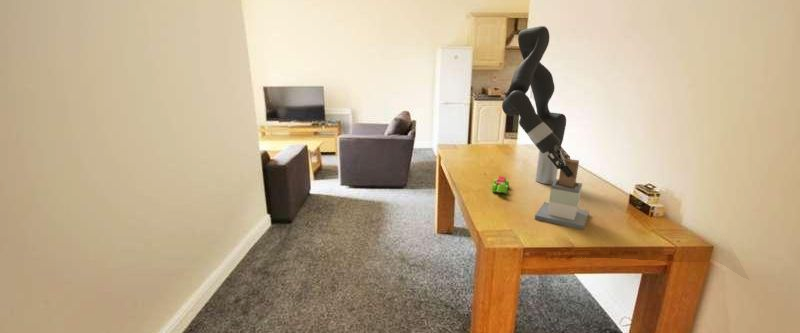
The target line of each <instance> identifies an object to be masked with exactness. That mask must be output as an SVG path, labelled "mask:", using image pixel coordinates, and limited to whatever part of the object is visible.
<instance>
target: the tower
mask: <svg viewBox="0 0 800 333" xmlns="http://www.w3.org/2000/svg"><path fill="white" fill-rule="evenodd" d="M558 183H559V178H558V179H557V178H556V180H555V181H554V182H553V184H550V185H551V186H550V193H549V200H548V202H546V201H544V202H543V203H542V205H541V206H540V208H539V209H538V211H537V212H536V213H535V215H534V220H537V221H541V222H546V223H551V224H555V225H560V226H564V227H568V228H573V229H577V230H582V231H584V229H585V226H586V222H587V219H588V217H589V213H590V211H589V210H586V209H580V208H579V206H580V199H581V193H582V187H583V183H581V182H576V183H575V188H569V187H563V186H558Z"/></svg>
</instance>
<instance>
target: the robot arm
mask: <svg viewBox="0 0 800 333" xmlns="http://www.w3.org/2000/svg"><path fill="white" fill-rule="evenodd" d="M517 42H518V48H519V52H520V54H521V56H522V59H523V61H522V62H521V63H520V64H518V66H517V68H516V69H515V70H514V72H513V76H512V79H511V83H510V86H509V88H508V90H507V92H506V93H505V96H504V98H503V100H502V105H501V109H502V111H503V113H504V114H505V115H507V116H509V117H513V116H516V115H517V114H518V115H519V121H518V124H519V126H520V127H521V128H522V130H523V131H524V132H525V134H527V137H528V138H529V139H530V140H531V142H532V143H533V144H534V146H536V147H537V149H538V150H539V151H538V159H537V165H536V174H535V182H537V183H540V184H545V185H552V184H553V182H554V181H555V180H556V179H557V177H558V170H562V171H563V172H564V174H565V175H566V176H567V177H571V176H572V175H573V172H572V171H571V170H570V169H569V167H568V166H567V165H566V163H565V159H571V156H570V155H569V154H568V153H567V152H566V151H565V149H564V148H563V147H562V144H563V141H564V135H565V132H566V131H565V130H566V126H567V117H566V115H565V114H564V113H558V112H552V111H550V109H549V102H550V100H551V99H552V97H553V94H554V92H555V83H554V82H555V81H554V78H553V75H552V73H551V71H550V70H549V69H548V68H547V67H546V66H545V65H543V63H541V60H542V59H543V57H544V54H545V52H546V50H547V48H548V46H549V43H550V32H549V29H548V27H546V26H545V25H540V26H535V27H531V28H530V27H529V28H525V29H522V30H520V31H519V33H518V36H517ZM530 88H531V89H530ZM529 89H530V90H531V92H532V95H533V98H534V103H535V108H536V110H535V108H534V106H533V104H532V102H531V100H530V98H529V97H528V95H527V93H528V91H529Z"/></svg>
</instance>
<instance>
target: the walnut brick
mask: <svg viewBox="0 0 800 333" xmlns="http://www.w3.org/2000/svg"><path fill="white" fill-rule="evenodd" d="M565 163H566V165H567V166H568V167H569V169H570V170H571V171H572V172H573V175H572V176H571V177H567V176H566V175H565V174H564V172H563V171H562V170H560V169H559V170H560V171H559V177H558V180H559V183H558V186H563V187H569V188H575V183H577V177H578V176H577V175H578V171H579V169H578V168H579V163H580V160H578V159H572V158H570V159H565Z"/></svg>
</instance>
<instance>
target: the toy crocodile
mask: <svg viewBox="0 0 800 333" xmlns="http://www.w3.org/2000/svg"><path fill="white" fill-rule="evenodd" d="M509 182H510V181H509V179H506V176H502V175H498V176H497V178H493V184H492V188H491V189H492V190H491V192H492V193H503V195H504V194H506V195H507V194H508V189H509V186H510V183H509Z"/></svg>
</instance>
